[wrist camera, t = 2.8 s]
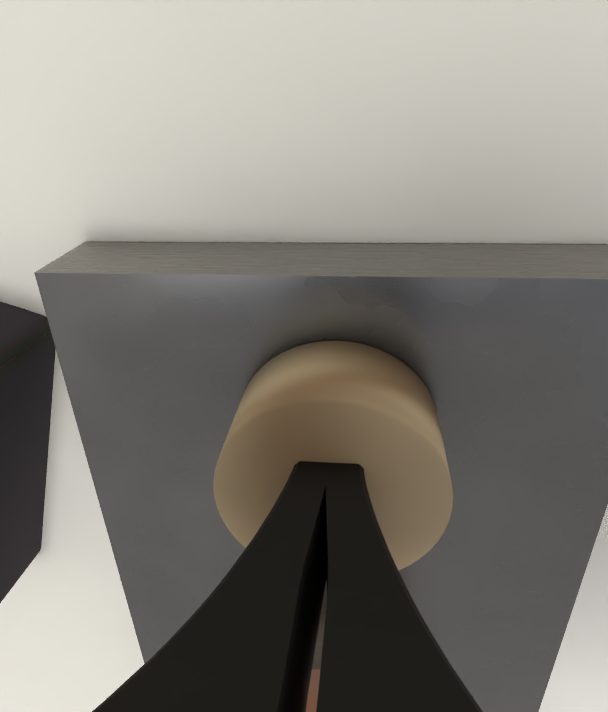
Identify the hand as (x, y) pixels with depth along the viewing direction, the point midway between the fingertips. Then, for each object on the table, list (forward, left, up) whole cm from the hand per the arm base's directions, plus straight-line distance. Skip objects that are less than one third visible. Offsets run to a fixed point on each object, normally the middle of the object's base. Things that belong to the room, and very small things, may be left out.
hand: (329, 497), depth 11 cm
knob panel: (0, +9, -5) cm, 10 cm away
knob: (0, 0, -2) cm, 2 cm away
